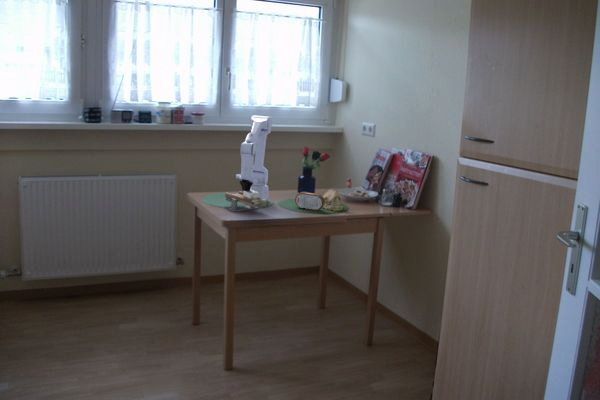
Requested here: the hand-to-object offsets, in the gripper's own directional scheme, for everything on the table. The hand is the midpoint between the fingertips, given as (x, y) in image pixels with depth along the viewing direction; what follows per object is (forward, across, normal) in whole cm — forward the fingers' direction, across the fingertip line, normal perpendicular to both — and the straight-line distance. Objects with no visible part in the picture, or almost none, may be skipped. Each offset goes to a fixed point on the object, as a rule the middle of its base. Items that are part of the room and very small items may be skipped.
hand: (245, 195), depth 292 cm
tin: (+7, +13, +30) cm, 34 cm away
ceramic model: (+7, +16, +44) cm, 47 cm away
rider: (+1, +4, 0) cm, 4 cm away
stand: (+7, -2, 0) cm, 7 cm away
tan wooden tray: (+4, 0, 0) cm, 4 cm away
